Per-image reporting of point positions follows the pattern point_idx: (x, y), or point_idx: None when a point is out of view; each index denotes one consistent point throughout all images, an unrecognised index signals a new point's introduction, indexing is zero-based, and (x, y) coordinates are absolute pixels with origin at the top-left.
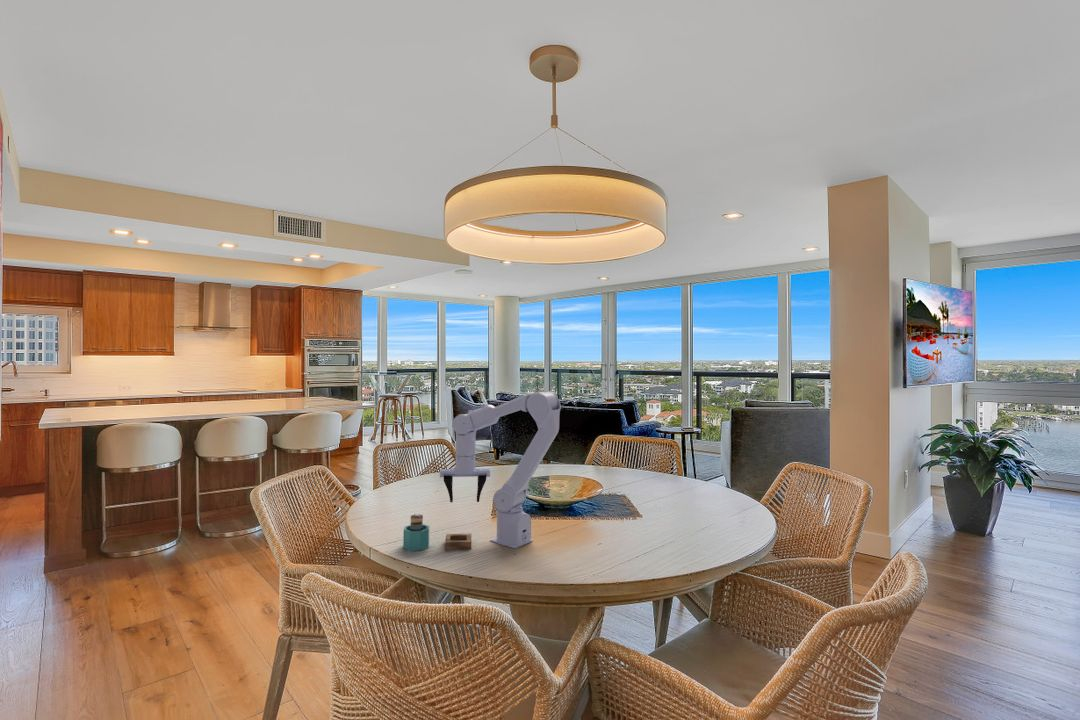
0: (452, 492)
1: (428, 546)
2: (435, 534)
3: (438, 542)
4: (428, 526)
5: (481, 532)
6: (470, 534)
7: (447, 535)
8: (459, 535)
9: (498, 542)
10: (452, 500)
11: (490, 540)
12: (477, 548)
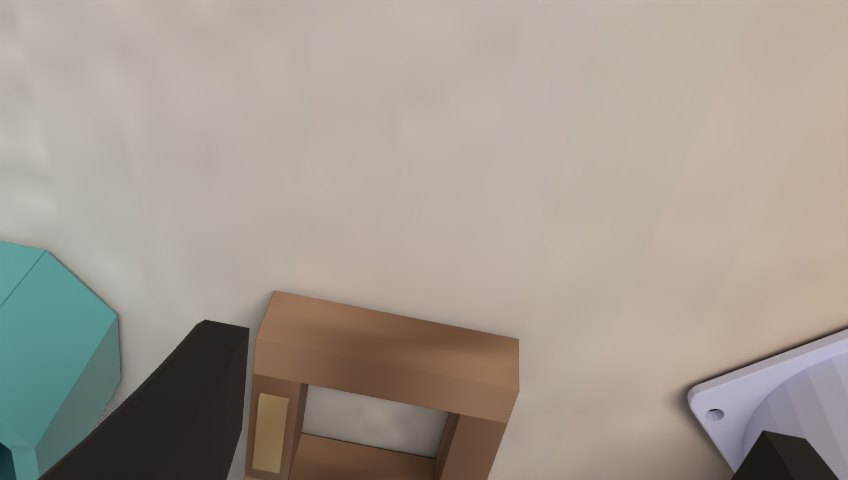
0: (180, 467)
1: (118, 370)
2: (154, 31)
3: (203, 275)
4: (27, 458)
5: (726, 117)
6: (501, 410)
7: (267, 376)
8: (388, 398)
9: (732, 469)
10: (229, 468)
11: (690, 404)
12: (524, 473)
